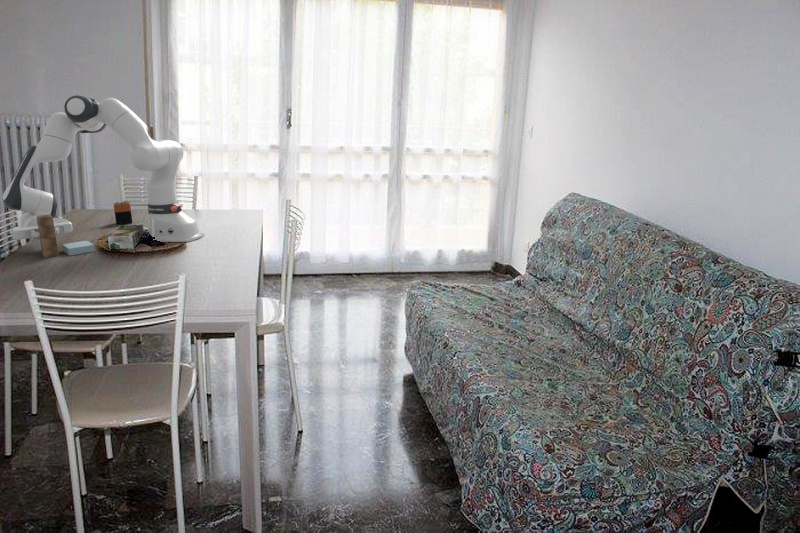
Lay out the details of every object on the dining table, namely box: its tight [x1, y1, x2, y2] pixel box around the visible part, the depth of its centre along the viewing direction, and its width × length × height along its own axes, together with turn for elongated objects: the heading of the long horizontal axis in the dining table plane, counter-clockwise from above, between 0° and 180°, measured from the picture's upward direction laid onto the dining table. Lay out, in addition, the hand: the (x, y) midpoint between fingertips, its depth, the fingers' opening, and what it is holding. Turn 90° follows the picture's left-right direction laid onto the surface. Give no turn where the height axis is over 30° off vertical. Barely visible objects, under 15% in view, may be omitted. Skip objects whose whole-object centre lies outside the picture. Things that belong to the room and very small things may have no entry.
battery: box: [113, 200, 133, 225], centre depth 309 cm, size 4×7×10 cm, turn 114°
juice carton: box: [107, 224, 145, 250], centre depth 273 cm, size 20×10×6 cm, turn 8°
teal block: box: [61, 240, 95, 256], centre depth 263 cm, size 9×9×3 cm
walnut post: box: [36, 214, 59, 258], centre depth 256 cm, size 4×4×15 cm
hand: (47, 233), depth 255 cm, fingers closed on walnut post, 4 cm apart
